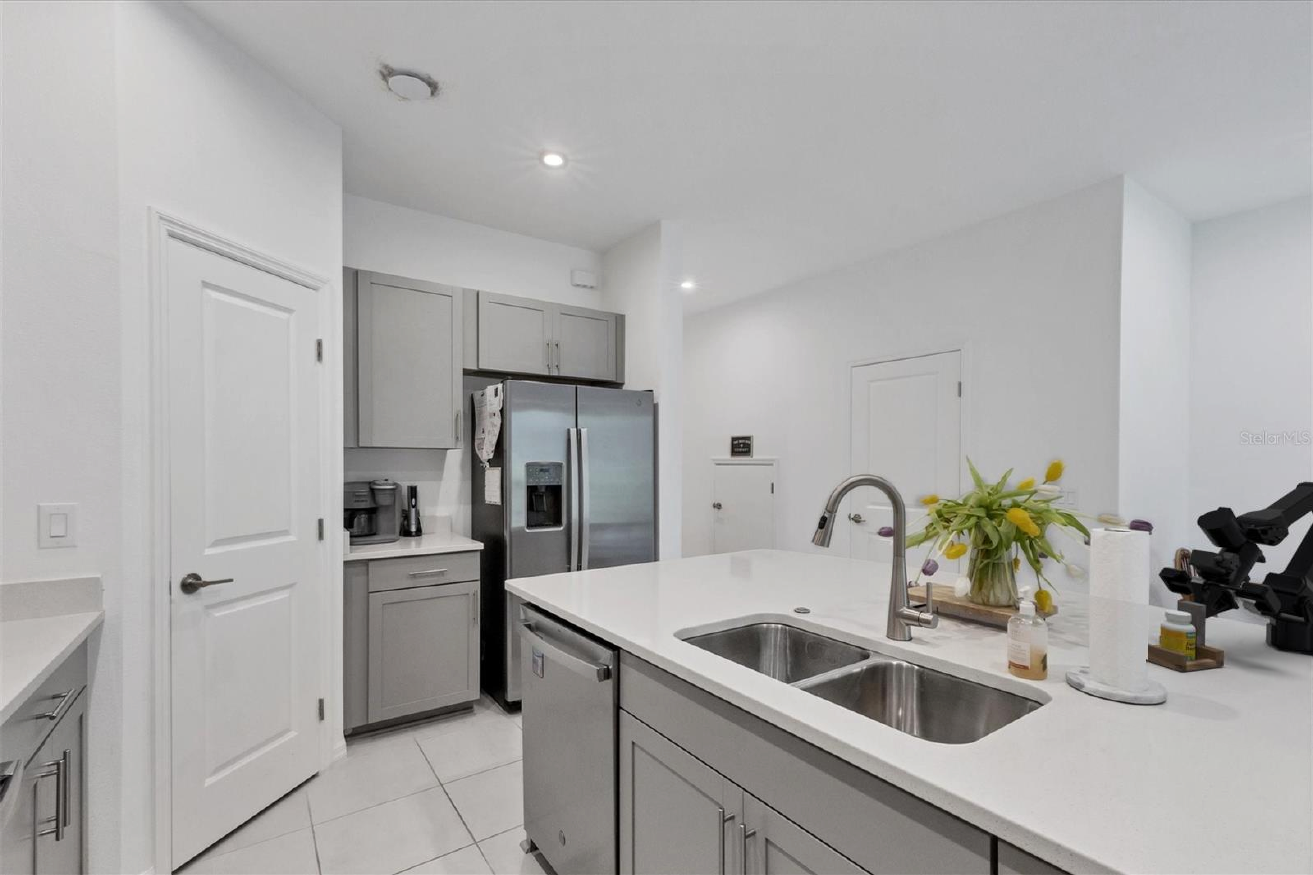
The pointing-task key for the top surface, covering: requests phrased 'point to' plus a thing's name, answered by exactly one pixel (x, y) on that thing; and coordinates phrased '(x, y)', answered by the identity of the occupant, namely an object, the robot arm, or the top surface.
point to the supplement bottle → (1178, 633)
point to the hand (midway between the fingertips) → (1195, 619)
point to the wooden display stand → (1203, 653)
